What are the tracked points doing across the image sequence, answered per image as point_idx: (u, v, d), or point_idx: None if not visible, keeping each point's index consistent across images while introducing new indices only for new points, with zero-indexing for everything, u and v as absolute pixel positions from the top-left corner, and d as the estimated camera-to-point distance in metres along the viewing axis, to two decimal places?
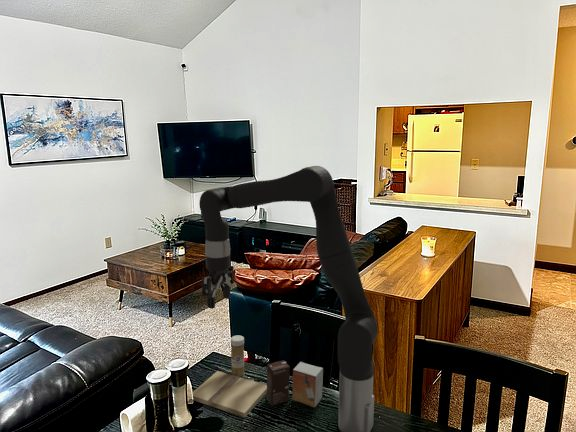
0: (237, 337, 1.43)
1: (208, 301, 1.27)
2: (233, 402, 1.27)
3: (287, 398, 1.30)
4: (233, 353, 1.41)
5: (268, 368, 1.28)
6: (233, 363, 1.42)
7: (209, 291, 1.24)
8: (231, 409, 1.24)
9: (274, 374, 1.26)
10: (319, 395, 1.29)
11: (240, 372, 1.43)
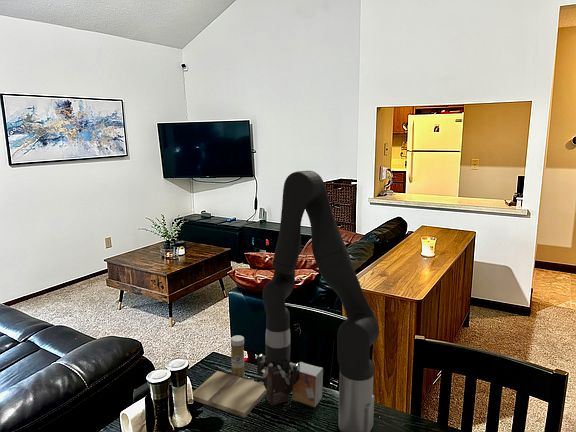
0: (237, 337, 1.43)
1: (291, 387, 1.27)
2: (233, 402, 1.27)
3: (287, 398, 1.30)
4: (233, 353, 1.41)
5: (268, 368, 1.28)
6: (233, 363, 1.42)
7: None
8: (231, 409, 1.24)
9: (274, 374, 1.26)
10: (319, 395, 1.29)
11: (240, 372, 1.43)
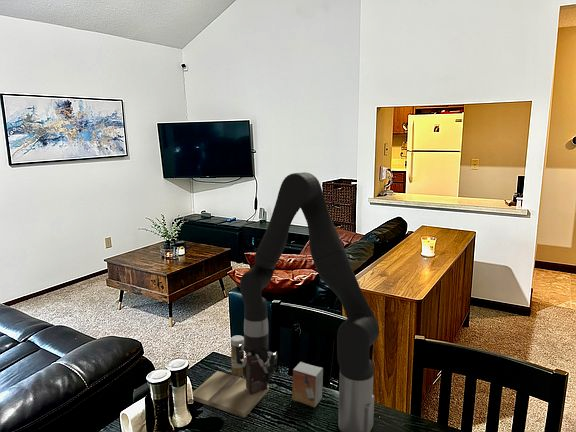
0: (237, 337, 1.43)
1: (269, 376, 1.30)
2: (233, 402, 1.27)
3: (266, 387, 1.32)
4: (233, 353, 1.41)
5: (247, 357, 1.31)
6: (233, 363, 1.42)
7: None
8: (231, 409, 1.24)
9: (252, 363, 1.29)
10: (319, 395, 1.29)
11: (240, 372, 1.43)
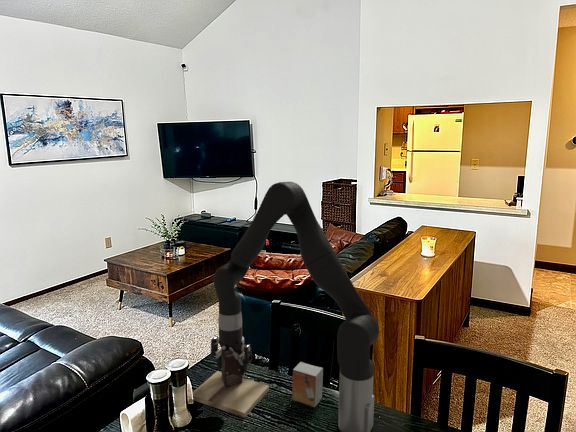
0: None
1: (244, 368, 1.34)
2: (233, 402, 1.27)
3: (241, 380, 1.36)
4: None
5: (222, 351, 1.34)
6: None
7: None
8: (231, 409, 1.24)
9: (227, 357, 1.32)
10: (319, 395, 1.29)
11: None
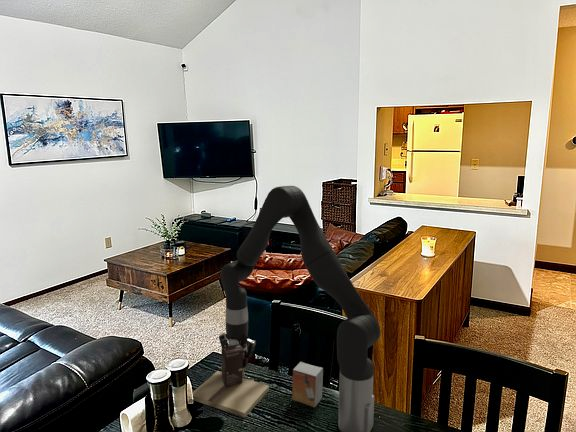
0: None
1: (246, 361, 1.42)
2: (233, 402, 1.27)
3: (241, 380, 1.36)
4: None
5: (222, 351, 1.34)
6: None
7: None
8: (231, 409, 1.24)
9: (227, 357, 1.32)
10: (319, 395, 1.29)
11: None
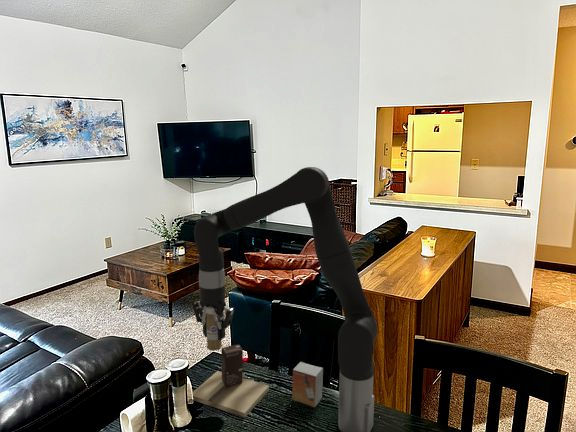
0: None
1: (223, 332, 1.23)
2: (233, 402, 1.27)
3: (241, 380, 1.36)
4: (208, 323, 1.23)
5: (222, 351, 1.34)
6: (208, 334, 1.24)
7: None
8: (231, 409, 1.24)
9: (227, 357, 1.32)
10: (319, 395, 1.29)
11: (216, 345, 1.24)
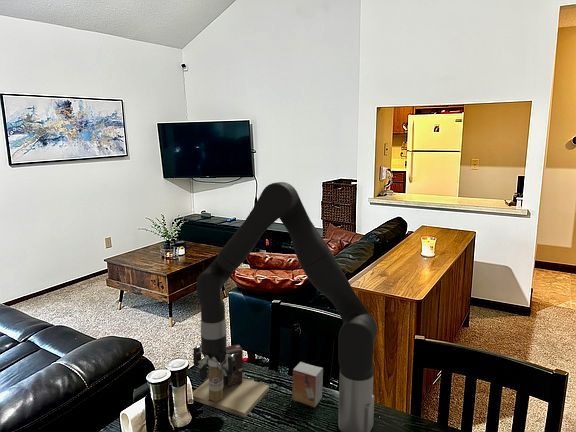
0: None
1: (229, 379, 1.25)
2: (233, 402, 1.27)
3: (241, 380, 1.36)
4: (211, 374, 1.26)
5: None
6: (210, 386, 1.27)
7: None
8: (231, 409, 1.24)
9: None
10: (319, 395, 1.29)
11: (218, 396, 1.27)
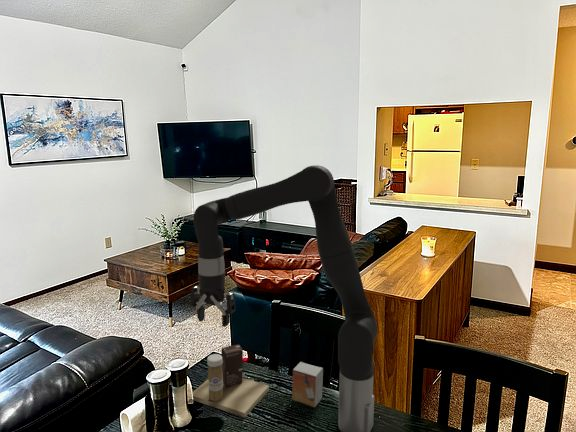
0: (215, 356, 1.27)
1: (227, 319, 1.22)
2: (233, 402, 1.27)
3: (241, 380, 1.36)
4: (210, 374, 1.26)
5: (222, 351, 1.34)
6: (210, 386, 1.27)
7: None
8: (231, 409, 1.24)
9: (227, 357, 1.32)
10: (319, 395, 1.29)
11: (218, 396, 1.27)
